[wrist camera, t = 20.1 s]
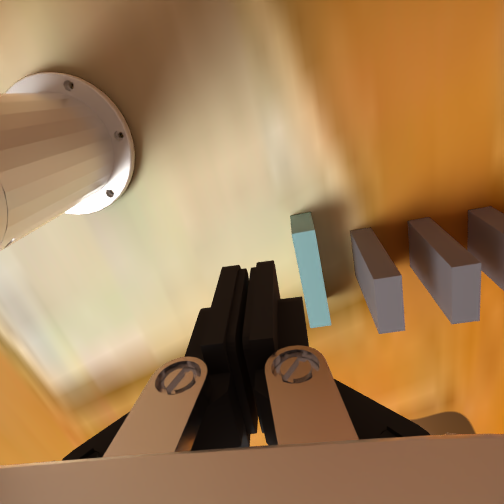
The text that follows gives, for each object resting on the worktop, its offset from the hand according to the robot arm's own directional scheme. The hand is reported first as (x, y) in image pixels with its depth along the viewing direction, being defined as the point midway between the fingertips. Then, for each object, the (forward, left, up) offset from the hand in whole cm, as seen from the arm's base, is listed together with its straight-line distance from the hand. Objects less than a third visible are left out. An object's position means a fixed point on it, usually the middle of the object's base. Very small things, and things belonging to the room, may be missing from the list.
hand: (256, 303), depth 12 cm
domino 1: (+2, -6, -22) cm, 23 cm away
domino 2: (+7, -11, -24) cm, 28 cm away
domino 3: (+13, -11, -24) cm, 30 cm away
